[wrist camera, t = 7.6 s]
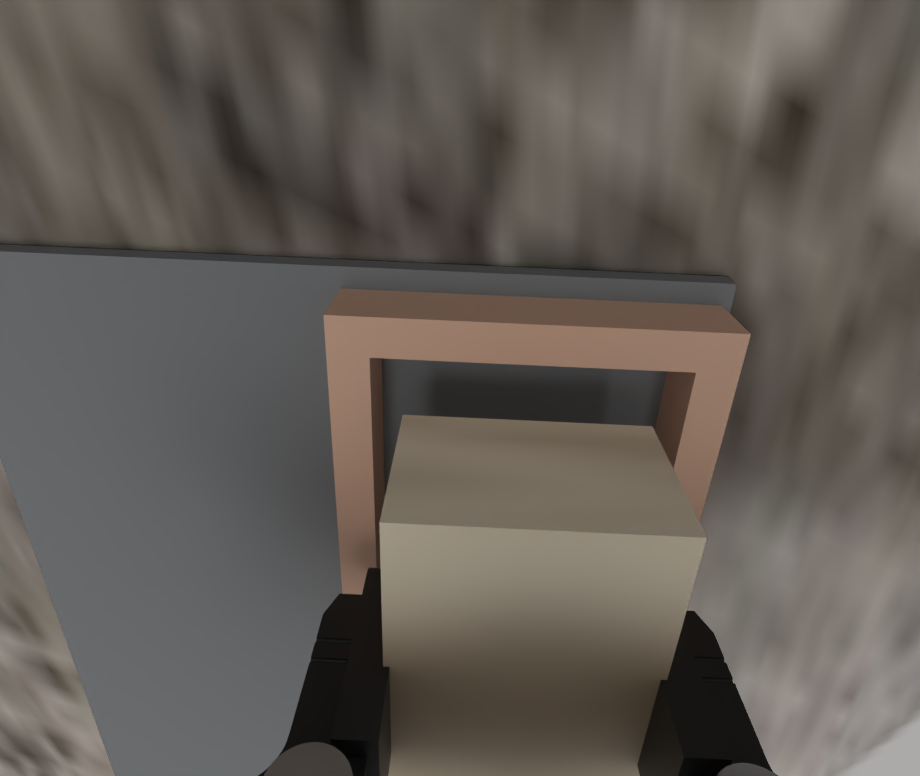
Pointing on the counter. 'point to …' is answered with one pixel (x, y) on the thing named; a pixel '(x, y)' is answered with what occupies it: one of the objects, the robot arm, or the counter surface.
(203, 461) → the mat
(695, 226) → the counter surface
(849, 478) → the counter surface
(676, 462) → the frame
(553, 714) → the beige rectangular prism
